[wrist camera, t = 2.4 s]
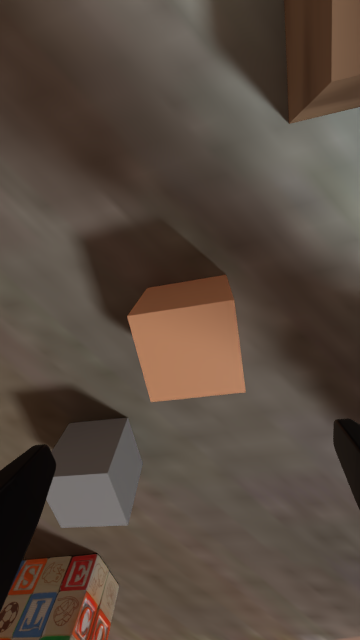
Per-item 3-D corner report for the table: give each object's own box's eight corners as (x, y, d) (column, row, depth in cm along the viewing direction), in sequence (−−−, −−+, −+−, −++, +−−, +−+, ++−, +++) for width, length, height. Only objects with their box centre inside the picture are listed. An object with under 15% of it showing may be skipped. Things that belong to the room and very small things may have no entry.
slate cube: (128, 416, 22) (107, 473, 17) (142, 462, 23) (127, 525, 19) (69, 422, 22) (35, 478, 18) (88, 466, 24) (61, 527, 20)
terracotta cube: (225, 274, 17) (234, 299, 12) (235, 346, 19) (245, 392, 14) (147, 287, 18) (127, 316, 13) (163, 355, 19) (151, 402, 15)
